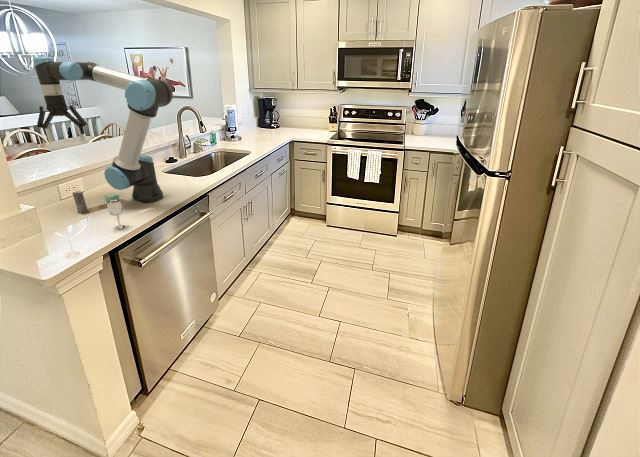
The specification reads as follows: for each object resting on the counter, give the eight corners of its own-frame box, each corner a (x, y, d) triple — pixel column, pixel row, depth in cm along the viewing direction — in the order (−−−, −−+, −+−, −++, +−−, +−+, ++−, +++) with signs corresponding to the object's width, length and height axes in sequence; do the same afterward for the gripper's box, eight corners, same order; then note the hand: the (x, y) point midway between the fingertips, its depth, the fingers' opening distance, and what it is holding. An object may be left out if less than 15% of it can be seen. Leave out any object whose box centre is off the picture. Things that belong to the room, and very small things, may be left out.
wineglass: (113, 225, 156) (107, 200, 151) (128, 223, 158) (122, 198, 153) (111, 230, 151) (104, 204, 146) (126, 228, 153) (120, 202, 148)
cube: (115, 201, 182) (113, 193, 180) (120, 203, 179) (118, 194, 177) (106, 204, 178) (104, 195, 176) (111, 205, 176) (109, 197, 174)
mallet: (122, 200, 185) (117, 180, 181) (129, 203, 182) (124, 182, 177) (77, 213, 169) (70, 191, 164) (84, 216, 165) (77, 194, 161)
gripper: (86, 93, 166) (98, 139, 174) (27, 94, 161) (42, 141, 170) (80, 94, 159) (92, 142, 168) (17, 95, 155) (34, 144, 163)
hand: (67, 141), depth 169 cm, fingers open, 13 cm apart
